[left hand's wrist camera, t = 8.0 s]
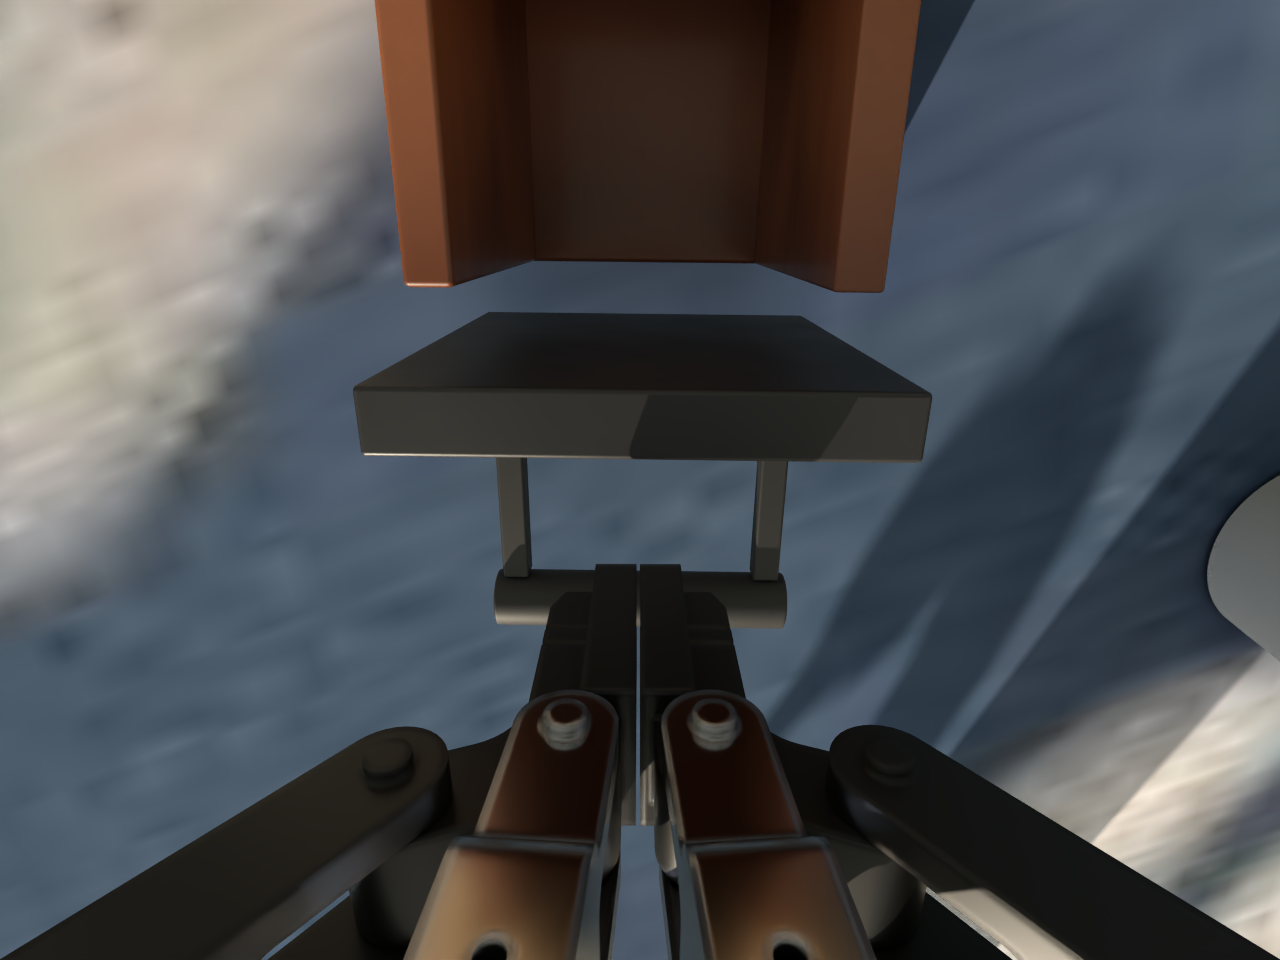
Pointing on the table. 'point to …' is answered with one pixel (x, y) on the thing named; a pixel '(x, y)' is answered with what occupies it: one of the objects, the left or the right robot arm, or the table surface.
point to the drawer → (645, 244)
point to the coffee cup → (1250, 568)
